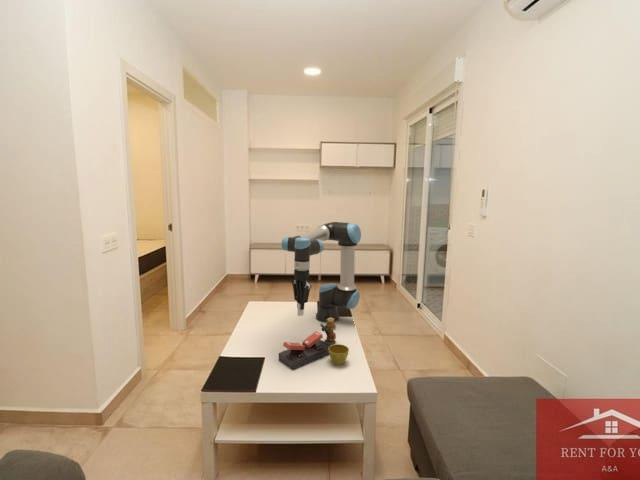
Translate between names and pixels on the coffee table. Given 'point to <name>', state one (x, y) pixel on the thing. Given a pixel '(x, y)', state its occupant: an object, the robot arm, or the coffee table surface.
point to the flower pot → (338, 353)
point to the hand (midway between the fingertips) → (300, 315)
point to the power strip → (304, 355)
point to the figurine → (329, 331)
